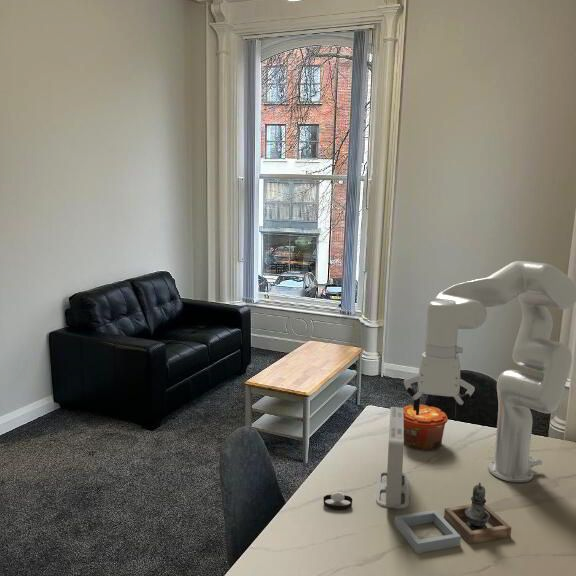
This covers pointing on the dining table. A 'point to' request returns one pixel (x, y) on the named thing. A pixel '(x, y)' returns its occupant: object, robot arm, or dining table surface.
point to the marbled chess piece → (477, 510)
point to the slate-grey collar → (431, 543)
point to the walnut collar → (476, 536)
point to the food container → (423, 427)
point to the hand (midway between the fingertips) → (436, 415)
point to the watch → (337, 498)
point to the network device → (394, 465)
